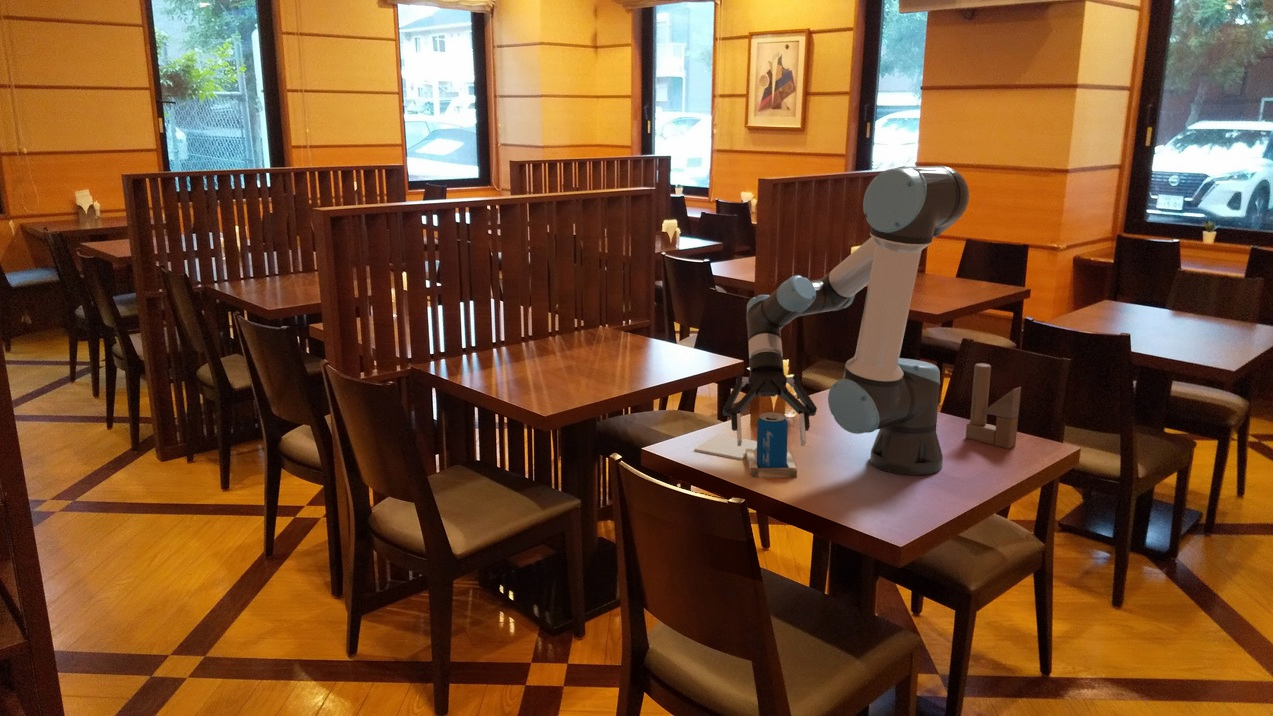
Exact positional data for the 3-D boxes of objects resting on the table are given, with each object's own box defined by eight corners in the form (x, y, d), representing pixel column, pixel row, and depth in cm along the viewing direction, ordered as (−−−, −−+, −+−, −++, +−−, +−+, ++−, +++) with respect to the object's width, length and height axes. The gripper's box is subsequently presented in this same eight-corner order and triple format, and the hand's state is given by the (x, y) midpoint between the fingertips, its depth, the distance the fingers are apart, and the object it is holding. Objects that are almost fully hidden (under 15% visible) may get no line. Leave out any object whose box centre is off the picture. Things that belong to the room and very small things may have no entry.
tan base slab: (745, 454, 203) (745, 448, 203) (788, 454, 203) (788, 448, 202) (751, 477, 189) (751, 470, 189) (796, 477, 189) (797, 470, 189)
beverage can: (752, 471, 193) (753, 418, 190) (762, 462, 198) (763, 410, 195) (780, 476, 190) (782, 422, 187) (790, 466, 195) (792, 414, 192)
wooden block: (1008, 449, 204) (1015, 373, 200) (964, 438, 212) (970, 364, 208) (1016, 445, 207) (1023, 370, 202) (973, 434, 215) (979, 362, 210)
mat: (763, 444, 210) (763, 442, 210) (741, 459, 200) (741, 457, 200) (717, 436, 216) (718, 434, 216) (694, 450, 206) (694, 448, 206)
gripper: (819, 366, 205) (827, 451, 194) (710, 367, 206) (712, 450, 195) (823, 349, 199) (833, 435, 188) (711, 349, 200) (713, 435, 189)
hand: (771, 443), depth 191 cm, fingers open, 13 cm apart
